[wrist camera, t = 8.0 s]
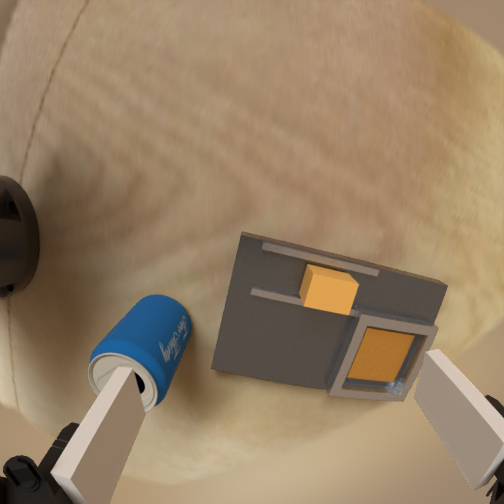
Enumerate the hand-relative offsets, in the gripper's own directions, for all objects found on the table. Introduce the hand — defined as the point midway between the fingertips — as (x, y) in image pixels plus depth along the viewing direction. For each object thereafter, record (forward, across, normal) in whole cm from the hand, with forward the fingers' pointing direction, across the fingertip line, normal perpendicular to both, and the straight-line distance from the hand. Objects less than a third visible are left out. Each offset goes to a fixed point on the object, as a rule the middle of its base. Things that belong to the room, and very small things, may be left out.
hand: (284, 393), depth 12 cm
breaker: (+16, +5, 0) cm, 17 cm away
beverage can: (+19, -11, -5) cm, 22 cm away
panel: (+18, +7, -6) cm, 20 cm away
